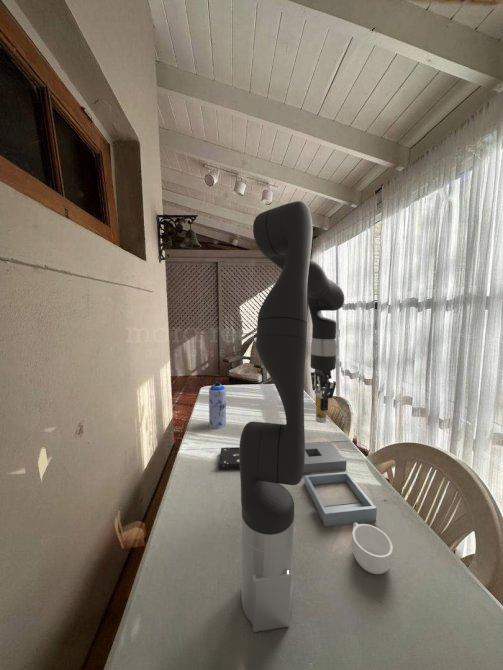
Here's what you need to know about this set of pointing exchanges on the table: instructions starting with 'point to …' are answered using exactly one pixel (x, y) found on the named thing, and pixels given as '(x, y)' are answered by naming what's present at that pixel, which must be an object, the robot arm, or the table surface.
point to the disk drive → (229, 459)
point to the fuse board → (323, 458)
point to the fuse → (319, 413)
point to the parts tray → (342, 512)
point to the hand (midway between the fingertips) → (321, 407)
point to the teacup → (371, 548)
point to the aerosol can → (217, 406)
